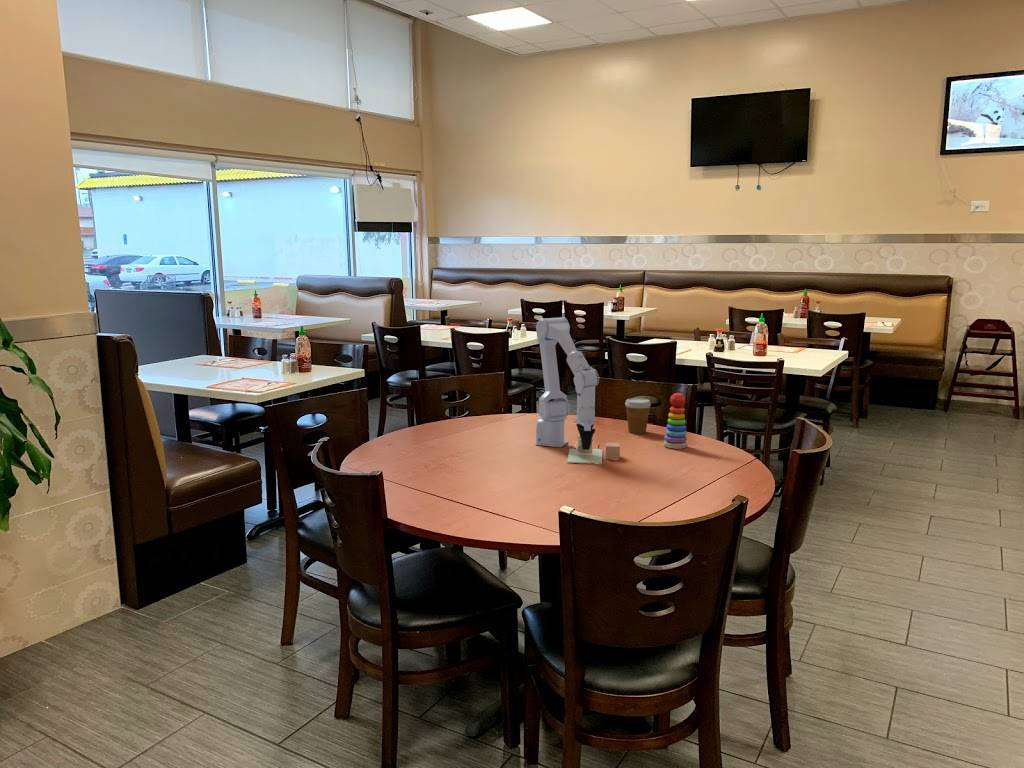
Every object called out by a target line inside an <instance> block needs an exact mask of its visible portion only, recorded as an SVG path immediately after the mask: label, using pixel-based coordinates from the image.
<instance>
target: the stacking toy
mask: <svg viewBox="0 0 1024 768" xmlns="http://www.w3.org/2000/svg"><path fill="white" fill-rule="evenodd" d="M669 403H670V404H671V406H670V408H669V413H668V419H667V425H666V428H667V429H666V430H665V435H664V436H663V437H664V441H663V446H664V447H665V448H667V447H668V449H672V448H673V450H682V448H683V449H686V448H687V446H688V442H687V438H688V437H687V430H686V429H687V426H686V419H685V418H686V416H685V412H686V409H685V407H683V406H684V405H685V404H686V398H685V396H684V394H683V393H680V392H675V393H673V394H671V396H670V399H669Z"/></svg>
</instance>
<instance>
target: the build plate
mask: <svg viewBox="0 0 1024 768" xmlns="http://www.w3.org/2000/svg"><path fill="white" fill-rule="evenodd" d="M566 463H567V464H571V463H598V464H597V465H603V449H600V448H599V449H592V454H578V450H577V449H575V448H569V449H568V455H567V460H566Z"/></svg>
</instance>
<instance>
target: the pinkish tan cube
mask: <svg viewBox="0 0 1024 768" xmlns="http://www.w3.org/2000/svg"><path fill="white" fill-rule="evenodd" d="M620 455H621V444H620V442H605V460H606V459H621V458H620V457H621V456H620Z"/></svg>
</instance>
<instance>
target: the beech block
mask: <svg viewBox="0 0 1024 768" xmlns="http://www.w3.org/2000/svg"><path fill="white" fill-rule="evenodd" d="M577 443H578V446H577V450H578V454H592V443H593V439H592V440H591V445H590V449H589V450H583V448H582V442H581V437H580V436H577Z"/></svg>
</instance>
